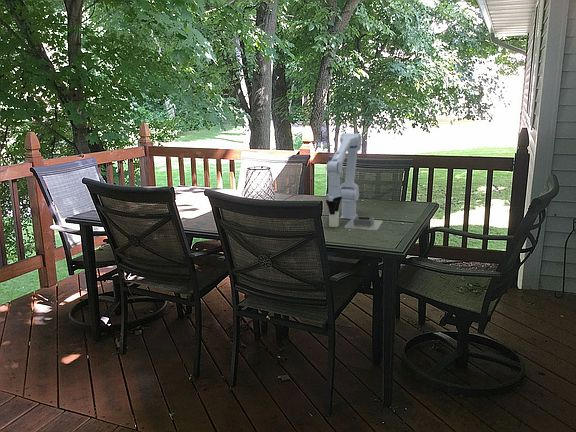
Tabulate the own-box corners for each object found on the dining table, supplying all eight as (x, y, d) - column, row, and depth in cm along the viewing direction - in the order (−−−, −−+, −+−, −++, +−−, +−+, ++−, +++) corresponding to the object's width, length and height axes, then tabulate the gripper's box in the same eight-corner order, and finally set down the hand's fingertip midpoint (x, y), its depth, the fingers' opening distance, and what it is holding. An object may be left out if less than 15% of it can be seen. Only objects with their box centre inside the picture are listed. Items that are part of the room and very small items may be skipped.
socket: (351, 220, 262) (351, 214, 262) (382, 222, 257) (382, 215, 257) (344, 228, 248) (344, 221, 247) (377, 230, 243) (377, 223, 242)
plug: (331, 224, 255) (331, 211, 253) (338, 225, 254) (338, 211, 252) (329, 226, 251) (329, 212, 250) (337, 227, 250) (337, 213, 248)
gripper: (329, 183, 256) (329, 209, 259) (322, 187, 242) (322, 215, 245) (343, 183, 254) (343, 210, 257) (336, 188, 240) (336, 216, 243)
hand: (334, 212), depth 251 cm, fingers open, 7 cm apart
